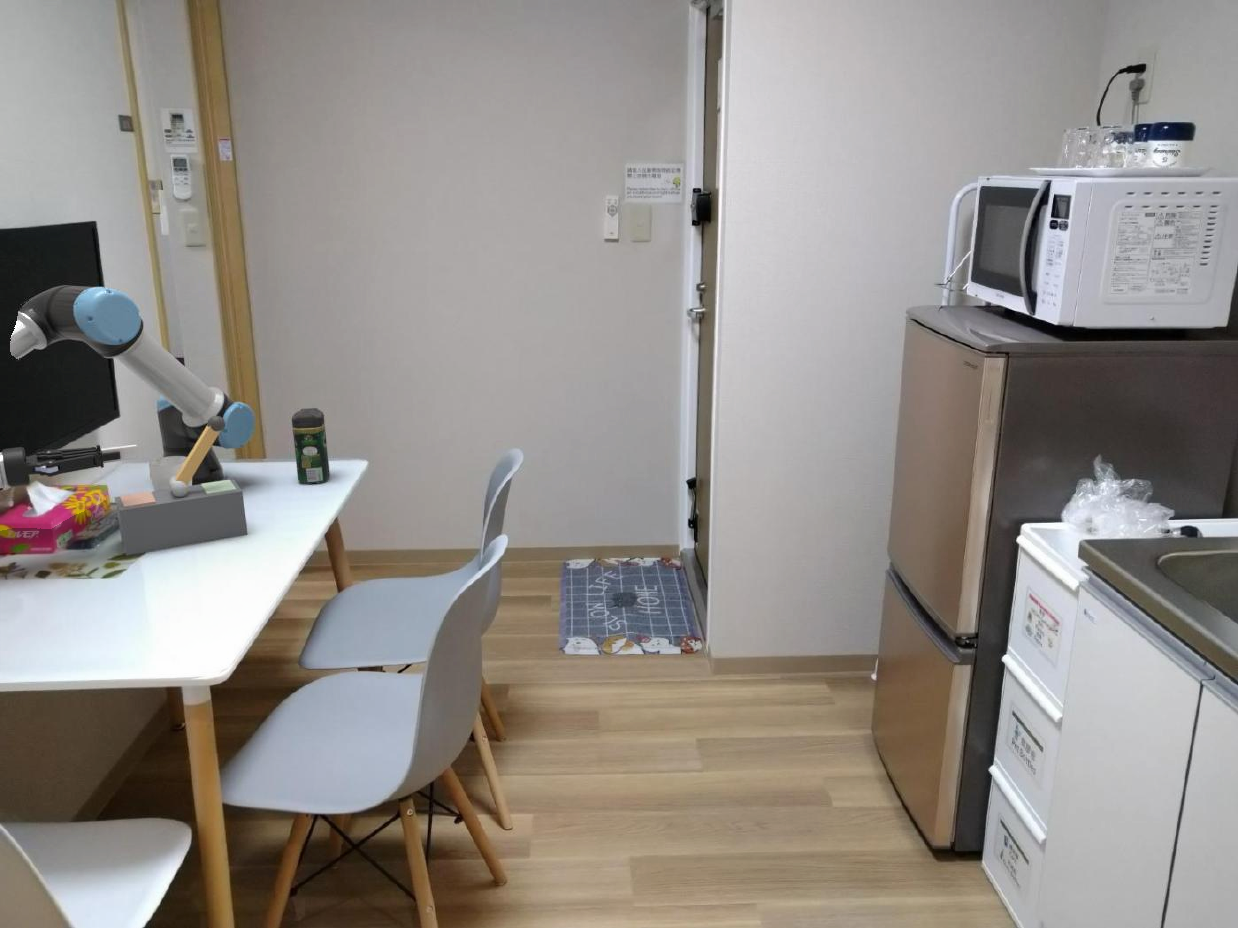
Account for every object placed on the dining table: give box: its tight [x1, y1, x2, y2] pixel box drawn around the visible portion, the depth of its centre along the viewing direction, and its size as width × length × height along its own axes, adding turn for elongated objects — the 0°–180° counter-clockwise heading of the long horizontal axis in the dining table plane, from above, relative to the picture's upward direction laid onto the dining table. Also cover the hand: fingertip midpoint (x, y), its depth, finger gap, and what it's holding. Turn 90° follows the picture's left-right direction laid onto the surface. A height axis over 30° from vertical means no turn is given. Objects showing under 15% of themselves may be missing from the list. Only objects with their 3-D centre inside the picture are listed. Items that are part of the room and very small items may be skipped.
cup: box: [148, 456, 192, 491], centre depth 223 cm, size 9×9×12 cm
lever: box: [168, 416, 225, 497], centre depth 204 cm, size 6×4×19 cm
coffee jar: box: [291, 407, 331, 484], centre depth 245 cm, size 10×8×19 cm
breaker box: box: [114, 479, 248, 557], centre depth 205 cm, size 10×24×10 cm, turn 122°
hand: (137, 451), depth 197 cm, fingers closed
